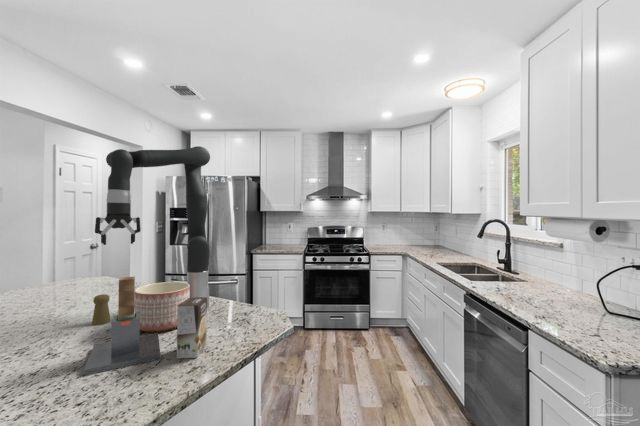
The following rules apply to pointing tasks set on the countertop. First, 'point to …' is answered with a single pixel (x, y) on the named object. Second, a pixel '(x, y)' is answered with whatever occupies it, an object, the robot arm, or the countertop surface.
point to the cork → (101, 310)
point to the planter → (160, 305)
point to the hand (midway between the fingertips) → (118, 244)
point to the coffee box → (191, 327)
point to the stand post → (126, 298)
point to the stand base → (123, 347)
